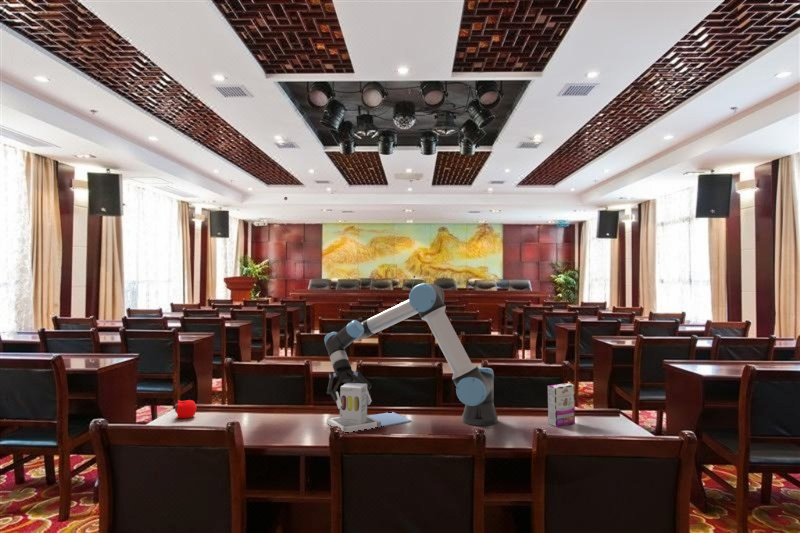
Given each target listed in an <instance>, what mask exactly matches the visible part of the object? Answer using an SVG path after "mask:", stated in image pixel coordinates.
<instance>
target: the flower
mask: <svg viewBox="0 0 800 533" xmlns="http://www.w3.org/2000/svg"><path fill="white" fill-rule="evenodd" d="M177 404H178V405H177V408H176V409H177V410H176V414H177V416H176V419H190V418H192V417H194V416H195V415H196V412H197V409H198V407H197V404H196V402H195V401H194V400H193V399H192V400H191V399H188V400H179V399H178V400H177Z"/></svg>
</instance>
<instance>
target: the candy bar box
mask: <svg viewBox="0 0 800 533" xmlns="http://www.w3.org/2000/svg"><path fill="white" fill-rule="evenodd" d="M575 402H576V400H575V385H574V384H571V383H567V382H566V383H559V384H551V385H547V413H548V414H547V416H548V418H547V420H548V423H547V424H548V425H550V426H551V427H552V426H553V427H556V428H559V427H564V426H568V425H569V426H570V425H574V424H576V414H575V413H576V409H575V408H576V407H575Z"/></svg>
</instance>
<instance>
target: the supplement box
mask: <svg viewBox="0 0 800 533" xmlns="http://www.w3.org/2000/svg"><path fill="white" fill-rule="evenodd" d="M339 387H340V391H339V394H340V395H339V397H340V400H341V403H342V406H341V408H340V409H339V417H340V423H339V424H340V425H342V426H344V427H348V426H354V425H360V424H366V423H368V422H367V415H368V403H367V384H360V383H352V382H345V383H344V384H343V385H341V386H339Z"/></svg>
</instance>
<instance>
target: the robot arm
mask: <svg viewBox="0 0 800 533" xmlns="http://www.w3.org/2000/svg"><path fill="white" fill-rule="evenodd" d="M444 300H445V292H444V290H443V289H442V287H441V286H440V285H438V284H435V283H431V282H429V283H427V282H422V283H421V282H420V283H419V284H416V285H415V286H413V287H412V289H411V290H410V292H409V295H408V299H407V300H405V301H402V302H400V303H399V304H396V305H395V306H392V307H391V308H390V307H389V308H388V309H385V310H384V311H382V312H380V313H377V314H376V315H374V316H371V317H370V318H367V319H365V320H363V321H362V322H360V321H358V320H356V319H353V320H351V321H350V322H348V323H347V325H346V326H344V327H343V328H342V329H340V331H338V332H337V331H332V332H329V333H327V334H326V335H325V336H324V338H323V340H324V345H325V349H326V350H327V353H328V356H329V360H330V363H331V365H332V369H333V371H331V372H329V374H328V375H329V376H328V379H329V381H328V385H327V390H326V394H327V395H330V396H331V397H332V400H333V402H335V403H336V406H337V408H338V410H340V408H341V406H342V403H341V400H340V395H339V394H340V393H339V392H338V391H337V389H338V387H340V386H339V385H340V384H341V383H344V384H345V383H360V384H367V406H369V405H371V403H372V401H373V400H372V398H371V396H372V394H371V391H370V389H371V388H372V386H373V384H372V383H371V382H370V381H369V380H368V379H367V378H366V377H365V376H364V375H363V374H362V373H361V371H360V370H359V369H356V370H355V371H353V370H352V369H353V368H352V366H351V363H350V360H349V357H348V355H347V352H346V348H347V347H349V346H350V345H351V344H352V343H353V342H355V341H360V340H363V339H368V338H369V337H372V335H374V334H376V333H379V332H381V331H383V330H385V329H387V328H390V327H391V326H394V325H395V324H398V323H400V322H402V321H405V320H406V319H408V318H410V317H413V316H415V315H417V314H418V315H419V317H420V319H421V320H422V321H424V322H426V323H427V325H428V326H429V329H430V331H431V333H432V335H433V336H434V339H435V341H436V342H437V344H438V346H439V349H440V350H441V352H442V353H443V356H444V358H445V359H446V362H447V364H448V366H449V368H450V369H451V372H452V377H451V379H452V381H453V383H454V385H455V387H456V388H455V390H456V391H455V393H456V396H457V398H458V399H459V402H461V403H462V404H464V409H463V413H462V415H461V416H462V417H461V419H462V422H463V423H465V424H468V425H472V426H481V427H483V426H485V427H488V426H492V425H496V424H498V422H499V421H498V420H499V419H498V414H497V411H496V407H495V404H494V376H495V374H494V370H493V369H492V368H490V367H481V366H478V365H476V364H474V363H472V361H471V359H470V357H469V355H468V353H467V352H466V350H465V347H464V346H463V344H462V342H461V341H460V339H459V336H458V335H457V332H456V331H455V328H454V327H453V325H452V323H451V321H450V320H449V317H448V315H447V314H446V307H447V306H446V304H445V302H444ZM335 378H336V379H338V380H337V382H336V384H335V385H334V387H333V383H334V379H335ZM332 388H333V389H332Z"/></svg>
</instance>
